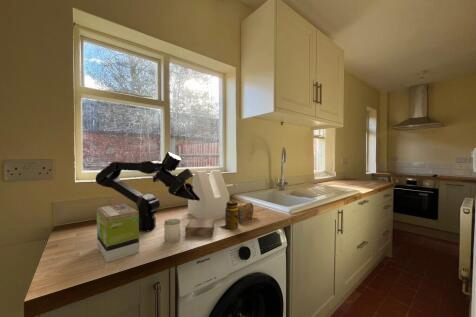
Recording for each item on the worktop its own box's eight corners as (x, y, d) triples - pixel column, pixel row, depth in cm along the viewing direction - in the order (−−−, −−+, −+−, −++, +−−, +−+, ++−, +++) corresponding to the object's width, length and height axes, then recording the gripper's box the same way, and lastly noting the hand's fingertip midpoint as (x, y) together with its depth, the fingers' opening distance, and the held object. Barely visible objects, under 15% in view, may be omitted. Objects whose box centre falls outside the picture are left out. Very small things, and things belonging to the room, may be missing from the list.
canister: (162, 243, 78) (162, 223, 78) (166, 237, 84) (167, 218, 84) (178, 243, 78) (178, 223, 78) (181, 236, 84) (181, 218, 84)
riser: (185, 237, 84) (185, 227, 84) (190, 227, 95) (190, 219, 95) (212, 236, 85) (212, 227, 84) (213, 227, 96) (213, 219, 95)
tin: (239, 224, 101) (240, 207, 101) (234, 223, 102) (234, 206, 102) (253, 216, 113) (254, 201, 113) (248, 215, 115) (249, 200, 115)
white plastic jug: (188, 213, 119) (188, 170, 119) (210, 209, 129) (210, 169, 129) (205, 221, 104) (205, 172, 104) (229, 216, 114) (229, 171, 114)
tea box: (96, 247, 74) (95, 206, 74) (126, 239, 81) (126, 202, 81) (106, 263, 63) (106, 215, 63) (140, 252, 70) (140, 209, 70)
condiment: (241, 228, 95) (242, 202, 95) (226, 232, 90) (226, 205, 90) (233, 224, 101) (233, 199, 101) (218, 227, 96) (218, 201, 96)
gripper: (172, 160, 83) (203, 181, 80) (186, 168, 101) (211, 186, 99) (155, 182, 81) (186, 205, 79) (172, 186, 99) (197, 205, 97)
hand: (196, 199), depth 88 cm, fingers open, 9 cm apart
